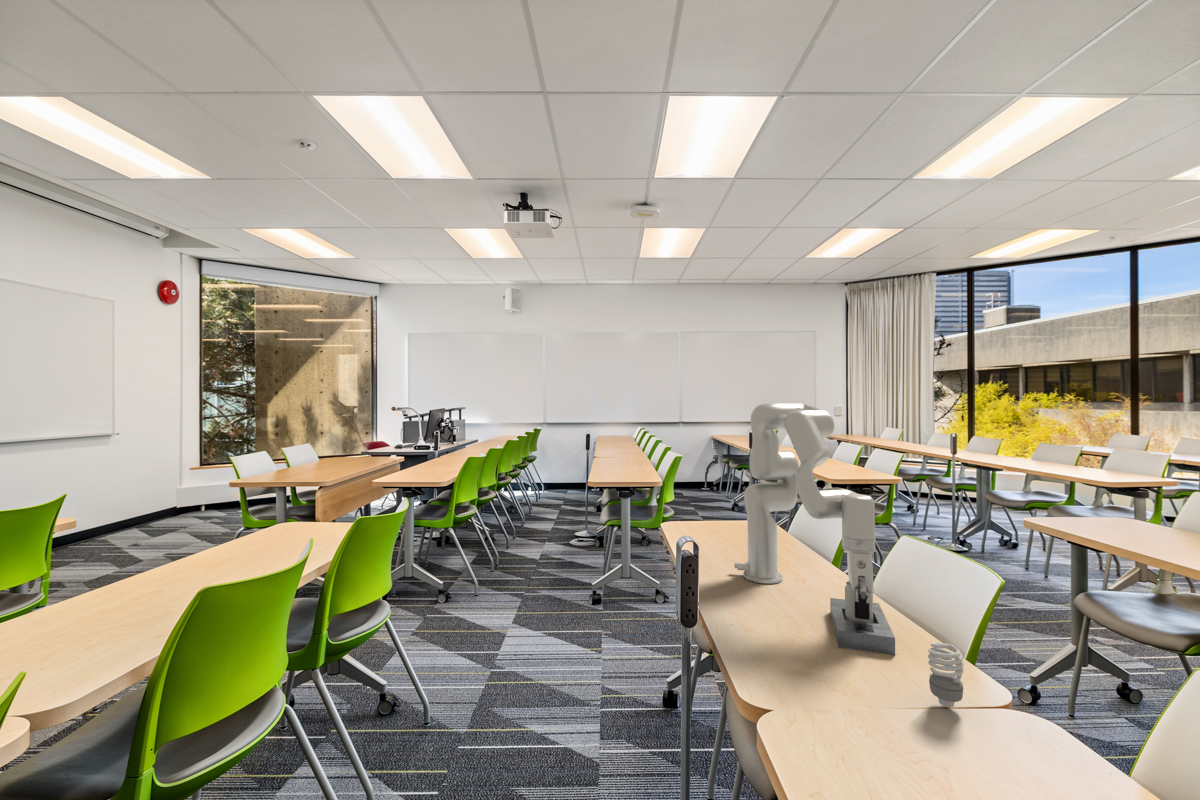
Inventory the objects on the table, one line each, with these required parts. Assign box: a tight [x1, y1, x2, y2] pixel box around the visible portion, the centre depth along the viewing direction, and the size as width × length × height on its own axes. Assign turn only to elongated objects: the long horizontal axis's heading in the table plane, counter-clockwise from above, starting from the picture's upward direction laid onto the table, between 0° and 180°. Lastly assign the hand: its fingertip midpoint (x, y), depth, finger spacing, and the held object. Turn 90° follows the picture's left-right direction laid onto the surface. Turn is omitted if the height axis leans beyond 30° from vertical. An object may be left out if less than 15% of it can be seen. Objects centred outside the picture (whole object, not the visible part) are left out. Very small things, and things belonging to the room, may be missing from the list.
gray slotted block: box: [829, 597, 896, 656], centre depth 129 cm, size 12×22×4 cm, turn 160°
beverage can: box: [844, 580, 874, 623], centre depth 130 cm, size 6×6×12 cm
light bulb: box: [927, 641, 965, 709], centre depth 97 cm, size 6×6×12 cm
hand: (859, 611), depth 129 cm, fingers open, 9 cm apart
